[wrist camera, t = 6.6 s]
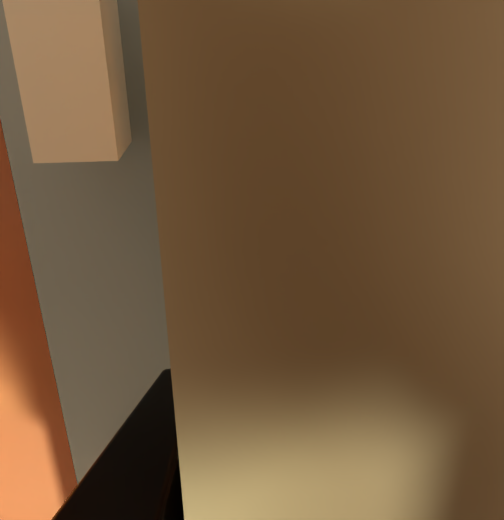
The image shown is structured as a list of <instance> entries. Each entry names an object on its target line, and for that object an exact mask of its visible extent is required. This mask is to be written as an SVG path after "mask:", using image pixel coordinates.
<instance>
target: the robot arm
mask: <svg viewBox="0 0 504 520" xmlns="http://www.w3.org/2000/svg"><path fill="white" fill-rule="evenodd" d="M52 520H184V510H183V499H182V488H181V477H180V466H179V455H178V444H177V433H176V422H175V411H174V400H173V389H172V377H171V368H170V369H164V370H163V371H162V372H161V373H160V375H159V376H158V377H157V379H156V380H155V381H154V383H153V384H152V385H151V387H150V388H149V389H148V391H147V392H146V393H145V395H144V396H143V398H142V399H141V400H140V402H139V403H138V404H137V406H136V407H135V408H134V410H133V411H132V412H131V414H130V415H129V416H128V418H127V419H126V420H125V422H124V423H123V424H122V426H121V427H120V428H119V430H118V431H117V432H116V434H115V435H114V436H113V438H112V439H111V440H110V442H109V443H108V445H107V446H106V447H105V449H104V450H103V451H102V453H101V454H100V455H99V457H98V458H97V459H96V461H95V462H94V463H93V465H92V466H91V467H90V469H89V470H88V471H87V473H86V474H85V475H84V477H83V478H82V479H81V481H80V482H79V483H78V485H77V486H76V488H75V489H74V490H73V492H72V493H71V494H70V496H69V497H68V498H67V500H66V501H65V502H64V504H63V505H62V506H61V508H60V509H59V510H58V512H57V513H56V514H55V516H54V517H53V518H52Z"/></svg>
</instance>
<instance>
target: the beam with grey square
mask: <svg viewBox="0 0 504 520" xmlns="http://www.w3.org/2000/svg"><path fill="white" fill-rule="evenodd" d="M137 1H138V12H139V23H140V34H141V45H142V56H143V67H144V78H145V90H146V101H147V112H148V123H149V134H150V145H151V156H152V167H153V178H154V189H155V200H156V211H157V222H158V234H159V245H160V256H161V267H162V278H163V289H164V300H165V311H166V322H167V333H168V344H169V355H170V366H171V377H172V389H173V400H174V411H175V422H176V433H177V444H178V455H179V466H180V477H181V488H182V499H183V510H184V520H504V0H137Z"/></svg>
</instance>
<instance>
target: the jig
mask: <svg viewBox="0 0 504 520" xmlns="http://www.w3.org/2000/svg"><path fill="white" fill-rule="evenodd" d="M0 120H1V124H2V129H3V134H4V139H5V143H6V148H7V153H8V157H9V162H10V167H11V172H12V176H13V181H14V186H15V191H16V195H17V200H18V205H19V210H20V214H21V219H22V224H23V228H24V233H25V238H26V243H27V247H28V252H29V257H30V262H31V266H32V271H33V276H34V280H35V285H36V290H37V295H38V299H39V304H40V309H41V314H42V318H43V323H44V328H45V332H46V337H47V342H48V347H49V351H50V356H51V361H52V366H53V370H54V375H55V380H56V384H57V389H58V394H59V399H60V403H61V408H62V413H63V418H64V422H65V427H66V432H67V437H68V441H69V446H70V451H71V455H72V460H73V465H74V470H75V474H76V479H77V484H78V483H79V482H80V481H81V479H82V478H83V477H84V475H85V474H86V473H87V471H88V470H89V469H90V467H91V466H92V465H93V463H94V462H95V461H96V459H97V458H98V457H99V455H100V454H101V453H102V451H103V450H104V449H105V447H106V446H107V445H108V443H109V442H110V440H111V439H112V438H113V436H114V435H115V434H116V432H117V431H118V430H119V428H120V427H121V426H122V424H123V423H124V422H125V420H126V419H127V418H128V416H129V415H130V414H131V412H132V411H133V410H134V408H135V407H136V406H137V404H138V403H139V402H140V400H141V399H142V398H143V396H144V395H145V393H146V392H147V391H148V389H149V388H150V387H151V385H152V384H153V383H154V381H155V380H156V379H157V377H158V376H159V375H160V373H161V372H162V371H163V370H164V369H170V368H171V366H170V355H169V344H168V333H167V322H166V311H165V300H164V289H163V278H162V267H161V256H160V245H159V234H158V222H157V211H156V200H155V189H154V178H153V167H152V156H151V145H150V134H149V123H148V112H147V101H146V90H145V78H144V67H143V56H142V45H141V34H140V23H139V12H138V1H137V0H0Z"/></svg>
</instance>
